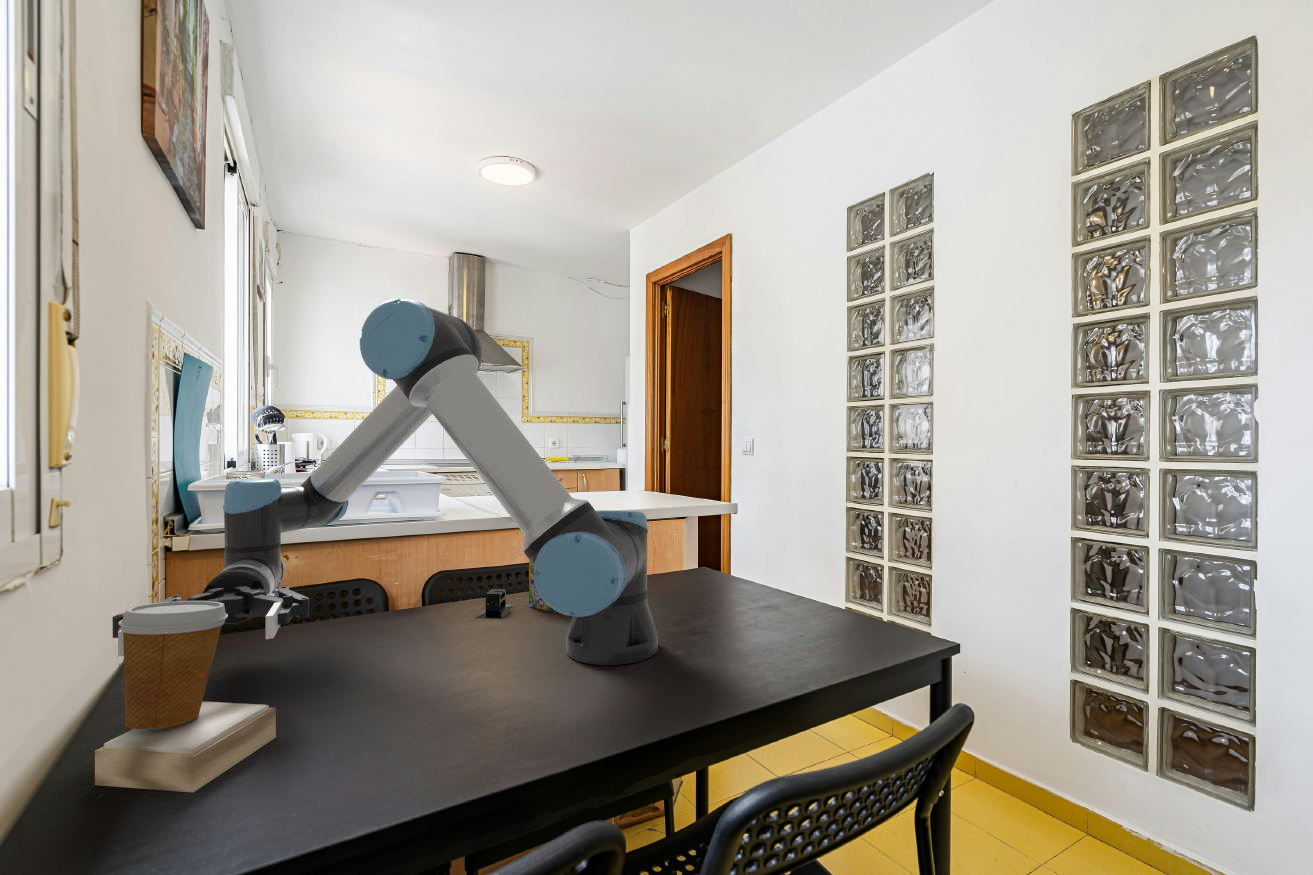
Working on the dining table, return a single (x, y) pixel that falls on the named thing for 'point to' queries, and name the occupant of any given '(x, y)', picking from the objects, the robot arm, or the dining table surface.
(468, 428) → the robot arm
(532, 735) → the dining table surface
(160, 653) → the disposable coffee cup
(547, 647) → the dining table surface
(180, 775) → the plinth
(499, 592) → the black block on base
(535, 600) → the crayon box
